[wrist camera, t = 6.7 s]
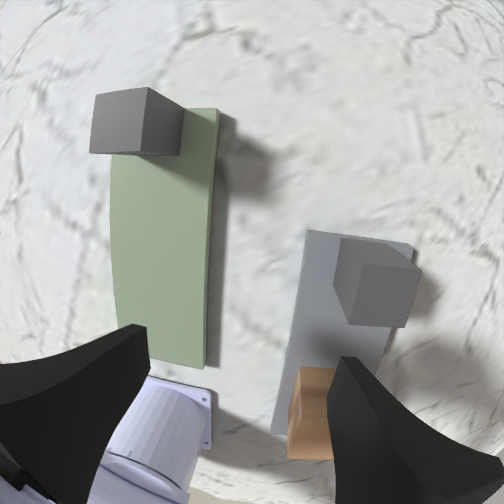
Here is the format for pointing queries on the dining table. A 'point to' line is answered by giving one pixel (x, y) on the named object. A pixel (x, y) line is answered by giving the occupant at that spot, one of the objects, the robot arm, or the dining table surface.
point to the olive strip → (159, 216)
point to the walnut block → (310, 415)
